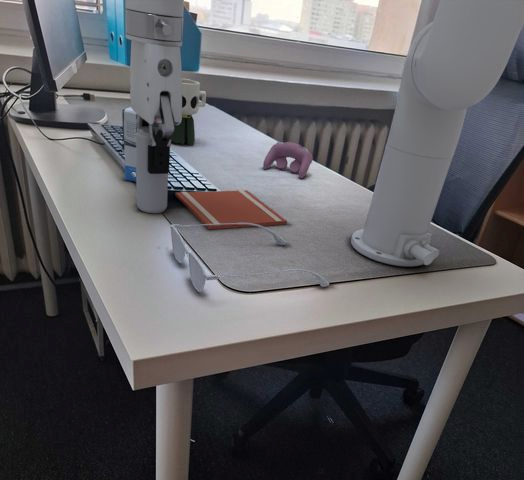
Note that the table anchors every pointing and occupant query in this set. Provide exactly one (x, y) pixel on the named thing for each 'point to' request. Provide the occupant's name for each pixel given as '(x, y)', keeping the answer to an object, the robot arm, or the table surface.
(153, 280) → the table surface
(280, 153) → the video game controller
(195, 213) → the towel
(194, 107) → the character mug
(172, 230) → the eyeglasses
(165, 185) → the beverage can
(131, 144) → the ink box
